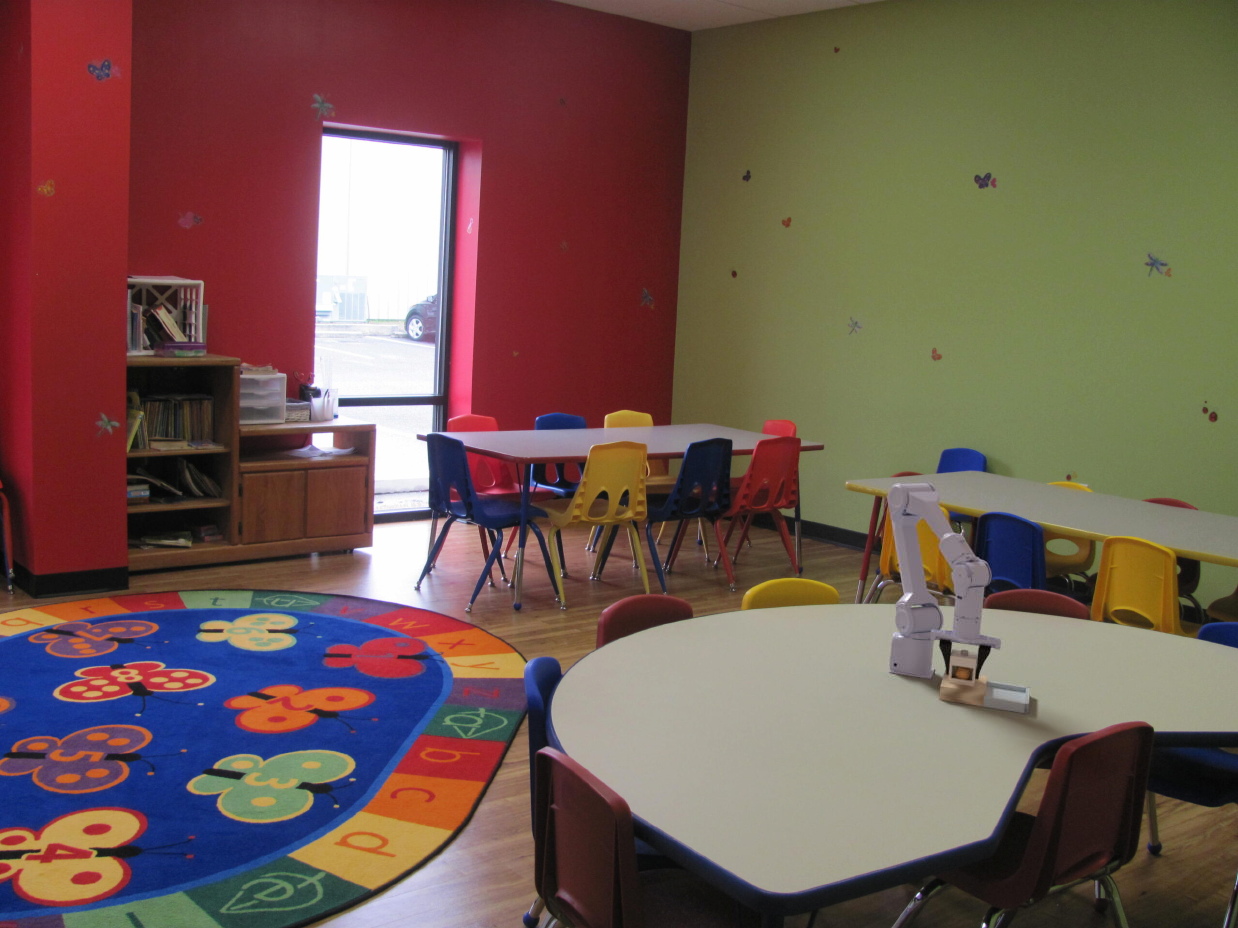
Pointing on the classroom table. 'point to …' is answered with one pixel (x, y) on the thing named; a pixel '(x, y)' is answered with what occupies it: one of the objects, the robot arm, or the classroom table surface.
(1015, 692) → the tray
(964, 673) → the ball
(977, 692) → the board
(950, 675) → the small drawer with knob
